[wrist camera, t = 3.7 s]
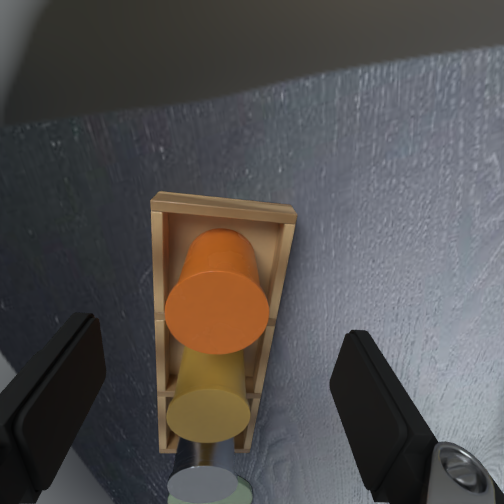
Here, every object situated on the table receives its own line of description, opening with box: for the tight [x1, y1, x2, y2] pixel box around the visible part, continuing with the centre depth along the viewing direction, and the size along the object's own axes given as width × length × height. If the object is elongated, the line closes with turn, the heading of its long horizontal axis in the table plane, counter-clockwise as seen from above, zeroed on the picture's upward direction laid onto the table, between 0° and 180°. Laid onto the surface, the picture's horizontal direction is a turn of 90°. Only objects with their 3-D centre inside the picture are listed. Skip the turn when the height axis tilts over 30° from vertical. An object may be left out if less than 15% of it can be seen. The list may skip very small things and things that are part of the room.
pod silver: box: [167, 436, 238, 504], centre depth 20 cm, size 5×5×6 cm
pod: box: [165, 228, 269, 354], centre depth 15 cm, size 5×5×6 cm
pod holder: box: [151, 191, 297, 453], centre depth 19 cm, size 22×8×2 cm, turn 173°
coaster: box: [168, 476, 252, 504], centre depth 29 cm, size 9×9×1 cm
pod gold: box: [166, 345, 251, 443], centre depth 17 cm, size 5×5×6 cm
